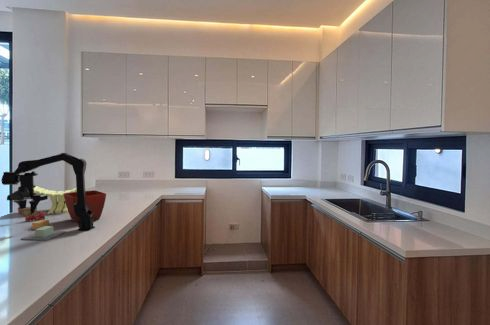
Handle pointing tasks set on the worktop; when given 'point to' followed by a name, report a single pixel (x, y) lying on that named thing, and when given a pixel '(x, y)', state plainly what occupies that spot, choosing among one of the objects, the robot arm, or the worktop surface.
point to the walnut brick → (26, 212)
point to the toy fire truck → (33, 217)
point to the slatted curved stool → (55, 199)
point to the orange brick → (40, 224)
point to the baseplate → (55, 233)
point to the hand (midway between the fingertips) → (28, 213)
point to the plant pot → (93, 200)
